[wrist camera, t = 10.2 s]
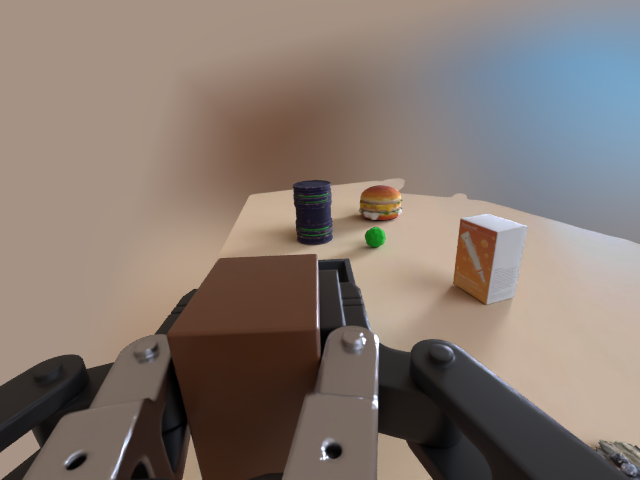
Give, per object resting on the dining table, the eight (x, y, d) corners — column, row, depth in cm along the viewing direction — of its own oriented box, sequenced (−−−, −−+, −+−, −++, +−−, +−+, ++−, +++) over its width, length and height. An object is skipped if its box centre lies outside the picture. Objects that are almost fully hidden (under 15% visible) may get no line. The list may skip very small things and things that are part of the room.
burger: (406, 213, 106) (408, 183, 102) (393, 225, 95) (394, 191, 91) (368, 209, 112) (368, 181, 109) (352, 220, 101) (351, 189, 98)
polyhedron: (363, 243, 82) (363, 225, 81) (382, 242, 82) (382, 224, 81) (367, 250, 78) (367, 231, 76) (387, 249, 78) (387, 230, 76)
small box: (452, 284, 60) (459, 217, 56) (479, 278, 62) (488, 212, 57) (486, 306, 53) (497, 231, 48) (515, 297, 55) (529, 225, 50)
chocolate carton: (239, 631, 11) (163, 335, 7) (259, 500, 15) (218, 257, 10) (334, 627, 11) (319, 327, 7) (329, 496, 15) (317, 253, 10)
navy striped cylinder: (338, 233, 90) (336, 180, 85) (325, 246, 82) (323, 188, 76) (305, 231, 94) (301, 179, 88) (290, 243, 85) (285, 187, 80)
